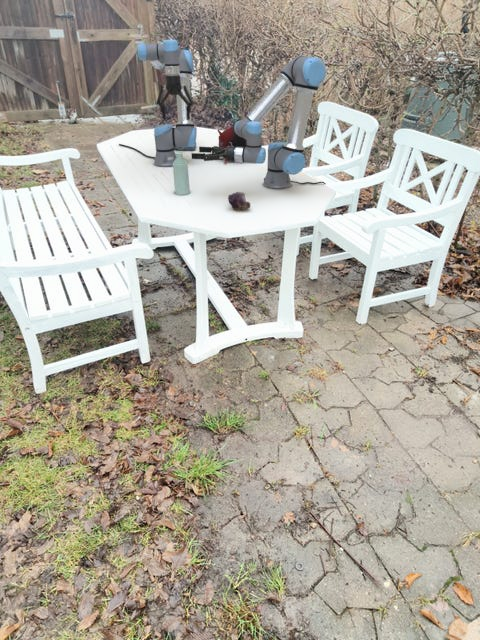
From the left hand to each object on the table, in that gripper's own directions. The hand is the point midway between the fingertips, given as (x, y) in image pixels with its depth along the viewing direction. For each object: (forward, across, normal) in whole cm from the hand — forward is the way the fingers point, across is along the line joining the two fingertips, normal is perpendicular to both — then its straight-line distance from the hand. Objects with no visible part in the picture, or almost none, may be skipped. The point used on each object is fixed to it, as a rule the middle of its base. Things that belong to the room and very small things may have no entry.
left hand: (176, 119), depth 244 cm
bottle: (+34, +6, -19) cm, 39 cm away
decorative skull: (+34, +23, +52) cm, 67 cm away
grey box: (+34, -19, +75) cm, 85 cm away
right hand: (+12, +15, -19) cm, 27 cm away
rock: (+34, +40, -39) cm, 66 cm away
